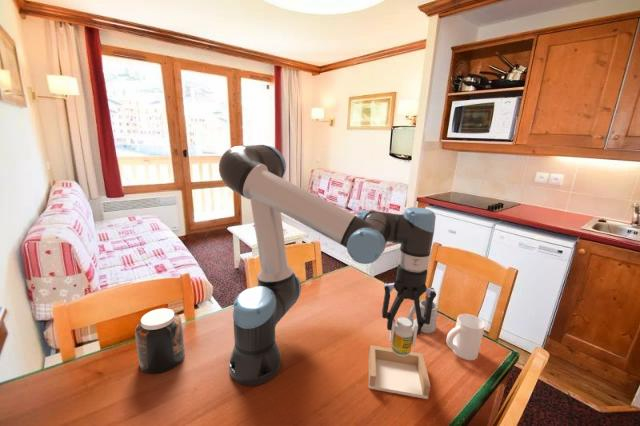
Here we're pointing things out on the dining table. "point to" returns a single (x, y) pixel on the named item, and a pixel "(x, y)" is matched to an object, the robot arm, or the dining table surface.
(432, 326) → the mug
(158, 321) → the jar
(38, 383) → the dining table surface
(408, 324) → the supplement bottle
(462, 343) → the mug
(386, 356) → the u rest
